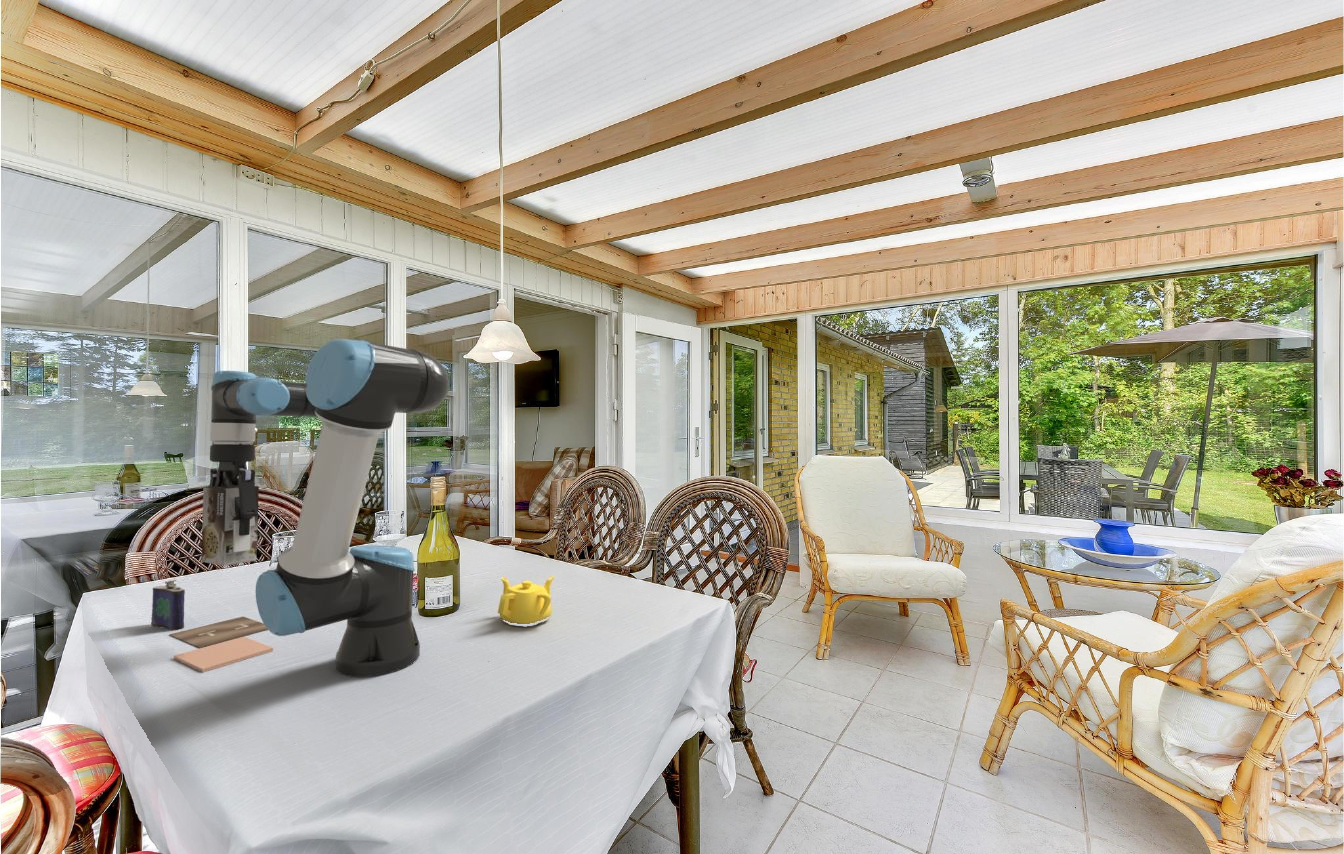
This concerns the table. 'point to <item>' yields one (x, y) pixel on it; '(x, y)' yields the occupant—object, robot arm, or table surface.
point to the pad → (223, 653)
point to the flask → (168, 606)
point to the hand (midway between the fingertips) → (229, 548)
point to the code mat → (220, 632)
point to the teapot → (525, 602)
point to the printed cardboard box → (224, 527)
